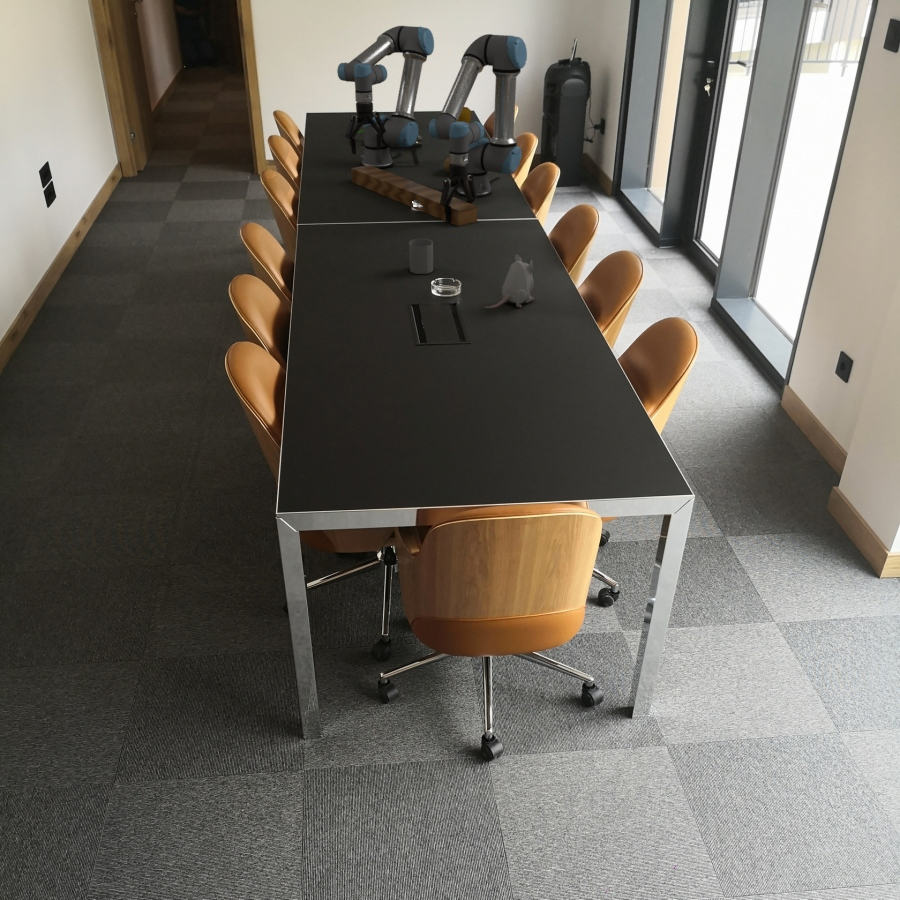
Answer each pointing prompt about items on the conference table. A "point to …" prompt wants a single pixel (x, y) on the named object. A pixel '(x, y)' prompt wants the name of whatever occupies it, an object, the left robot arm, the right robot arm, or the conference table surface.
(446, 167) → the potato
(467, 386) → the conference table surface
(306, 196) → the conference table surface
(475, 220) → the wide beam
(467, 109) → the yellow bell pepper
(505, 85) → the right robot arm
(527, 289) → the toy
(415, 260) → the cup
